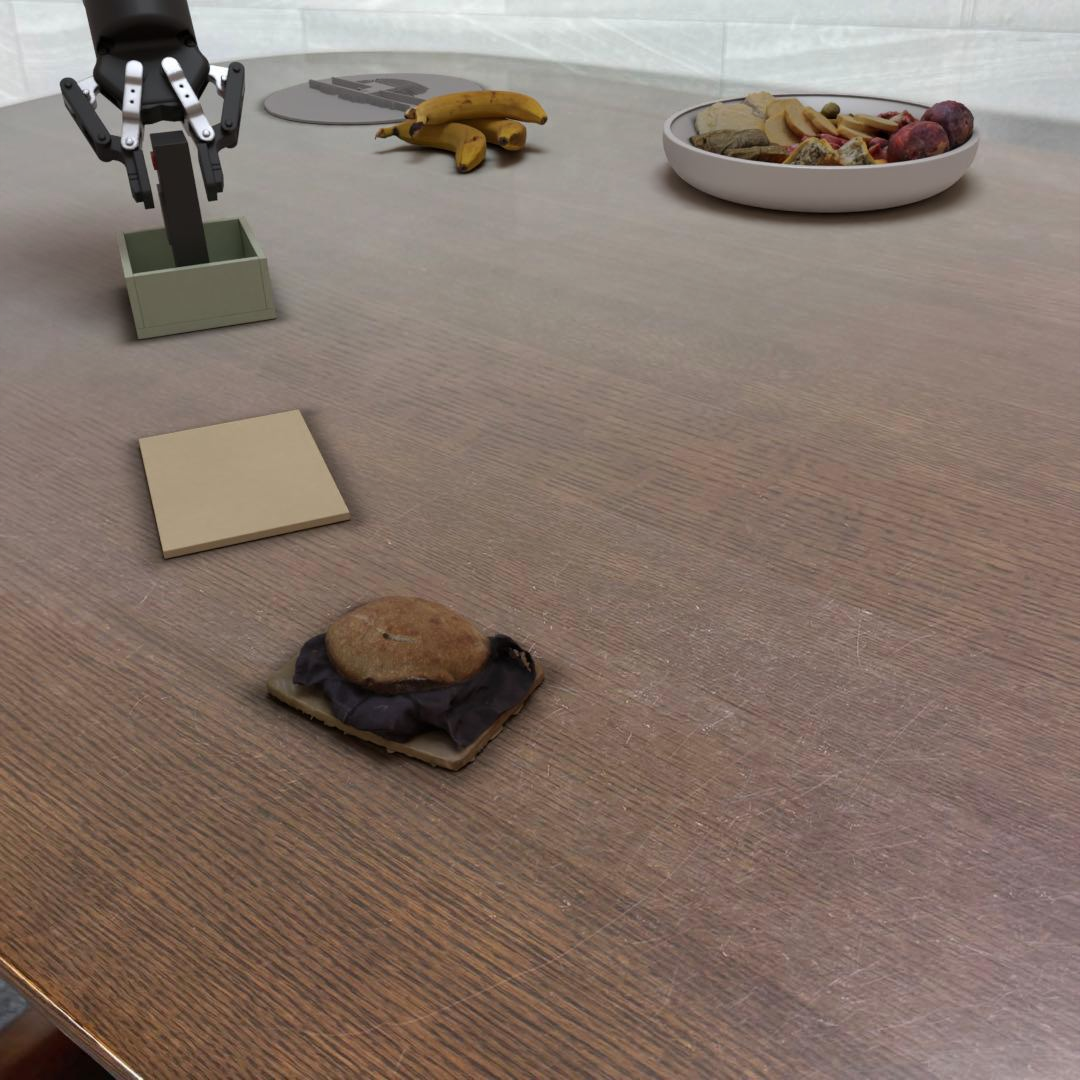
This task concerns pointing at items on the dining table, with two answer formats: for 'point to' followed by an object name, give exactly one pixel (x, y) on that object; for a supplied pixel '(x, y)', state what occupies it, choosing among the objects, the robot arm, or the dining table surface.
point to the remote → (179, 198)
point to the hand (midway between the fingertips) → (181, 198)
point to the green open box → (196, 280)
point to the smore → (410, 679)
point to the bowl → (821, 150)
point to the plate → (362, 97)
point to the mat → (238, 483)
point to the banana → (469, 123)
